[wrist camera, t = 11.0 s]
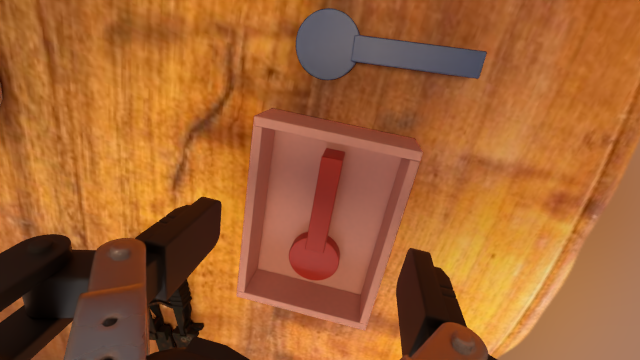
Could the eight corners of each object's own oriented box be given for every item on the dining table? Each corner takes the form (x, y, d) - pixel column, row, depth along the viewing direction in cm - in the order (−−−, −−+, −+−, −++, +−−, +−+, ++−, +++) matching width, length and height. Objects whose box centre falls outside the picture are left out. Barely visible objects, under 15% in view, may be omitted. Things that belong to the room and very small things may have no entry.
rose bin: (271, 107, 21) (253, 115, 18) (415, 138, 20) (423, 152, 17) (252, 268, 27) (236, 296, 23) (366, 297, 26) (365, 330, 23)
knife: (219, 427, 36) (214, 440, 35) (169, 417, 37) (162, 430, 35) (192, 246, 27) (183, 256, 26) (126, 239, 28) (114, 248, 26)
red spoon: (308, 143, 21) (301, 151, 19) (363, 155, 21) (363, 165, 19) (288, 266, 25) (281, 284, 23) (335, 278, 25) (331, 296, 23)
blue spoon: (481, 29, 18) (495, 24, 16) (461, 98, 19) (471, 102, 17) (302, 7, 19) (294, 0, 17) (296, 74, 20) (288, 75, 18)
